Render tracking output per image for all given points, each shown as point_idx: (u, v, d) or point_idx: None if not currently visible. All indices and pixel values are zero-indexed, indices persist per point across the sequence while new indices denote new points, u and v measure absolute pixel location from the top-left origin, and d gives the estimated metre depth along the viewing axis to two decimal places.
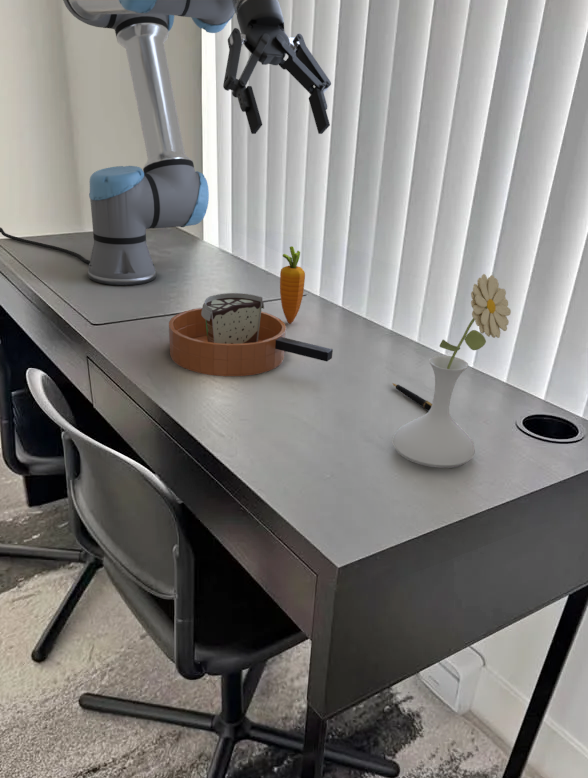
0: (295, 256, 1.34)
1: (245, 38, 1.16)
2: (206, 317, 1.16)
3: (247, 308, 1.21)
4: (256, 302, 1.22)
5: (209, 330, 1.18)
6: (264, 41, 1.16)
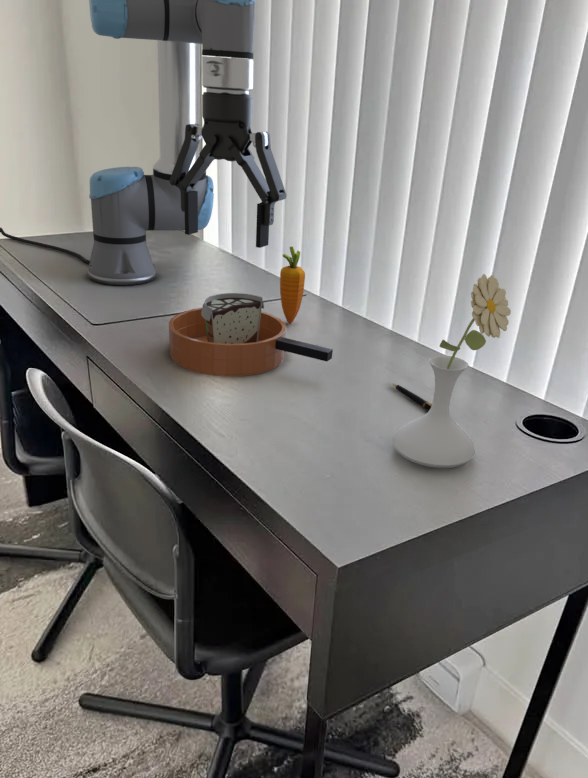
0: (295, 256, 1.34)
1: (201, 133, 1.08)
2: (206, 317, 1.16)
3: (247, 308, 1.21)
4: (256, 302, 1.22)
5: (209, 330, 1.18)
6: (210, 144, 1.07)
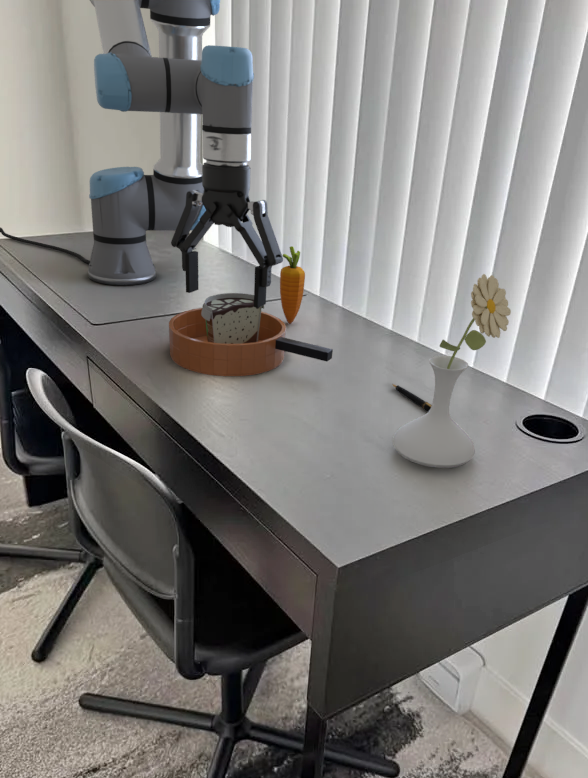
0: (295, 256, 1.34)
1: (201, 199, 1.13)
2: (206, 317, 1.16)
3: (247, 308, 1.21)
4: None
5: (209, 330, 1.18)
6: (210, 211, 1.12)
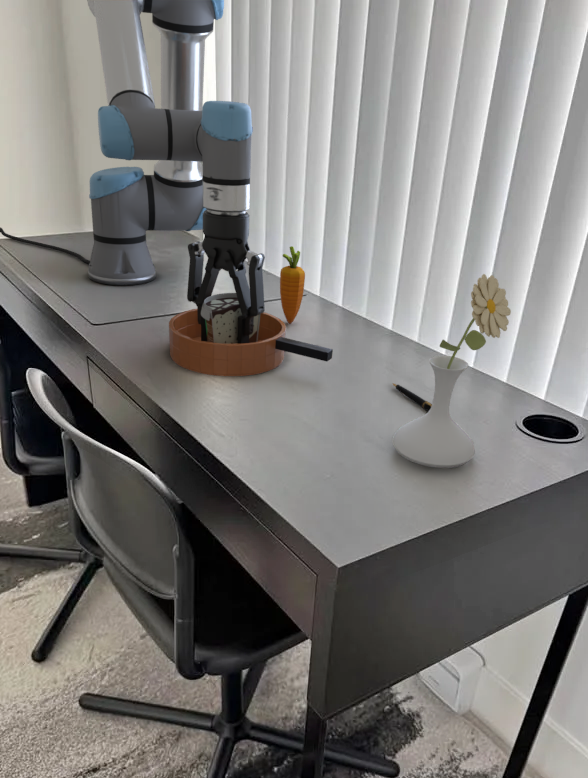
0: (295, 256, 1.34)
1: (202, 247, 1.17)
2: (206, 317, 1.16)
3: None
4: None
5: (209, 329, 1.18)
6: (211, 257, 1.16)
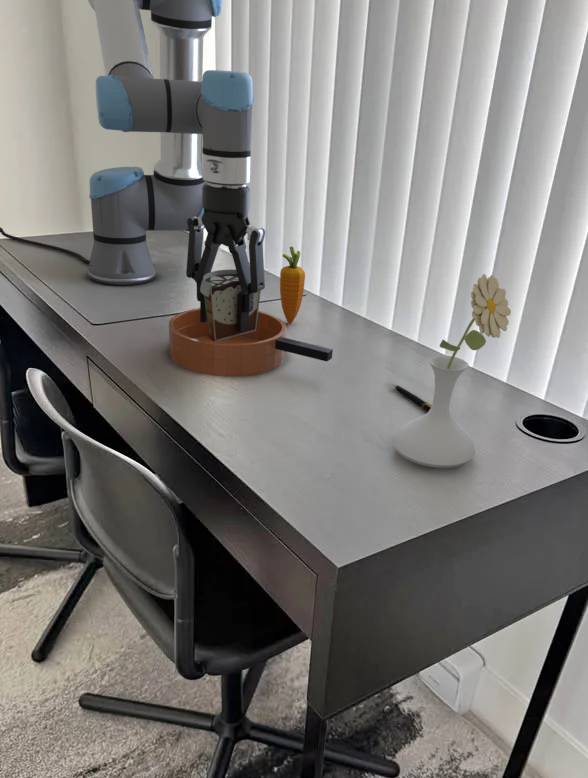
0: (295, 256, 1.34)
1: (202, 222, 1.15)
2: (205, 293, 1.14)
3: None
4: None
5: (208, 306, 1.16)
6: (211, 232, 1.14)
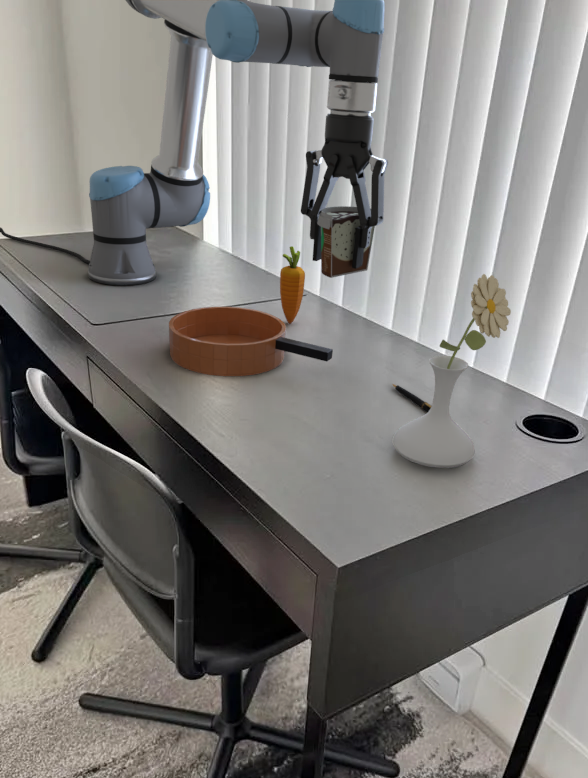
0: (295, 256, 1.34)
1: (321, 155, 1.14)
2: (325, 225, 1.13)
3: None
4: None
5: (327, 240, 1.15)
6: (332, 164, 1.12)
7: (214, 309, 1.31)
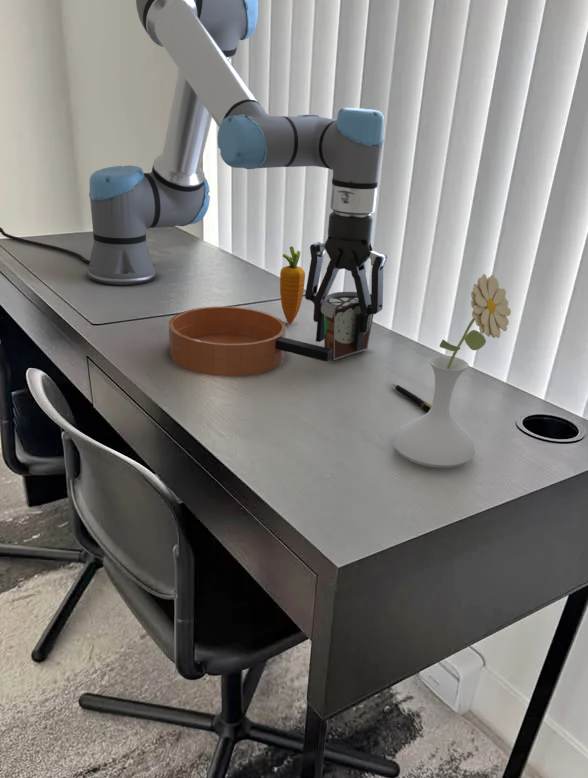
0: (295, 256, 1.34)
1: (324, 248, 1.22)
2: (328, 314, 1.21)
3: None
4: None
5: (330, 327, 1.23)
6: (335, 258, 1.21)
7: (214, 309, 1.31)
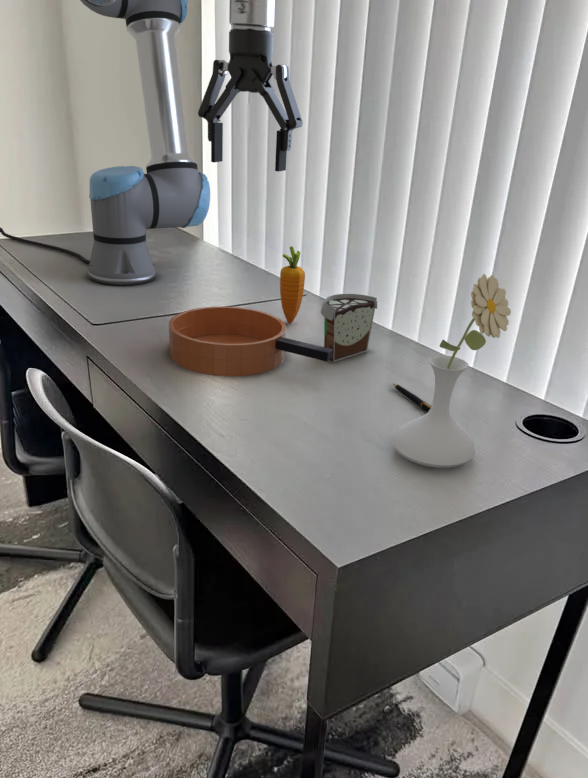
0: (295, 256, 1.34)
1: (227, 68, 1.22)
2: (328, 317, 1.21)
3: (363, 308, 1.26)
4: (370, 302, 1.27)
5: (330, 329, 1.23)
6: (235, 77, 1.21)
7: (214, 309, 1.31)
